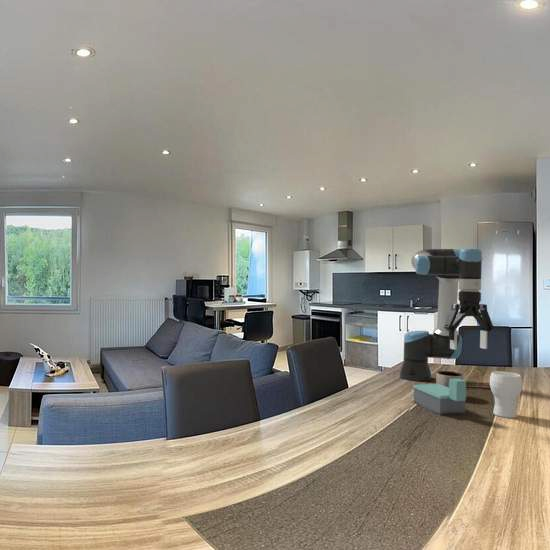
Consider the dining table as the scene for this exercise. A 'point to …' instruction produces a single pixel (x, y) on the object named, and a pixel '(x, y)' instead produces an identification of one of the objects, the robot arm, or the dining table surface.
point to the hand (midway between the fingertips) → (468, 348)
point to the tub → (438, 403)
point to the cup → (505, 392)
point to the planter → (447, 377)
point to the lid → (446, 390)
